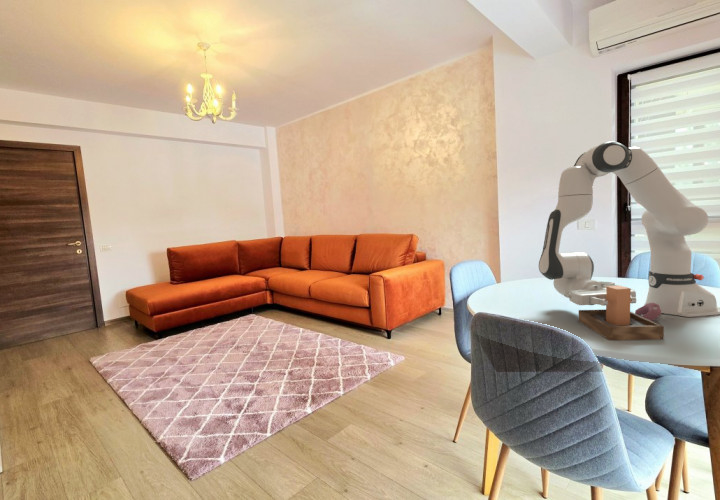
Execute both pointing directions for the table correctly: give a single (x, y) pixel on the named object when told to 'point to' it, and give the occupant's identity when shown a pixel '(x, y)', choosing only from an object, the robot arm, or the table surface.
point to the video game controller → (649, 311)
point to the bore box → (621, 326)
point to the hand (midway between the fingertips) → (620, 302)
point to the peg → (618, 305)
